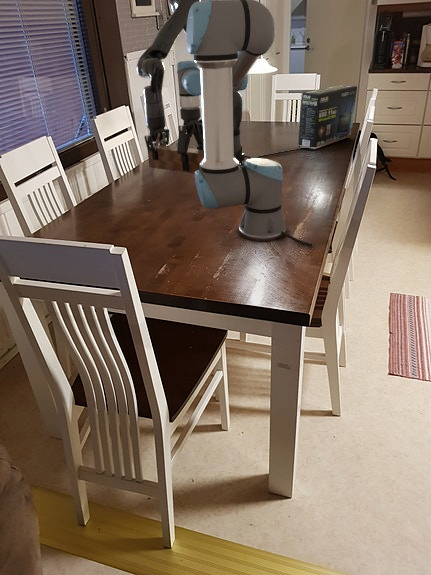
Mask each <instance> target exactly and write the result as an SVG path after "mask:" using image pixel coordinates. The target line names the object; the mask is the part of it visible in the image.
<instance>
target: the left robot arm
mask: <svg viewBox="0 0 431 575" xmlns="http://www.w3.org/2000/svg"><path fill="white" fill-rule="evenodd" d="M200 1H202V0H169V6H170V9H171V10H172V14H171V15H170V17H169V18H168V19H167V20H166V21H165V22H164V23H163V25H162V26H161V27H160V28H159V30H158V31H157V33H156V34H155V36H154V38H153V40H152V43H151V45H150V46H149V47H147V49H146V50H145V51H144V52H143V53H142V54H141V56H140V57H139V58H138V60H137V63H136V71H137V75H138V76H139V77H141V78H142V79H150V82H149V84H148V85H145V86H144V88H143V100H144V113H145V124H146V128H147V129H148V130H149V131H148V134H147V135H144V136H143V139H144V142H145V145H146V149H148V150H151V151H152V158H153V160H158V153H157V146H158V145H163V146H169V145H170V129H169V128H165V127H166V126H167V122H166V113H165V110H166V109H165V105H164V96H163V95H164V94H163V87H164V81H165V74H166V70H165V64H164V62H163V60H165V59H167V58H168V56H169V55H170V53H171V50H172V49H173V46H174V45H175V44H176V40H177V39H178V37H179V36H180V35H181V33H182V31H183V32H184V34H185V35H186V30H187V20H188V14H189V10H190V8H191V6H192V5H193V4H194V3H195V2H200ZM242 120H243V97H242V94H241V93H240V92H239V91H237V92H234V91H233V145H234V157H235V158H236V159H237V160H238V161H239V166H243V162H245V160H246V159H245V158H247V159H250V158H252V157H251V156H250V155H245V153H243V144H242V143H241V123H242ZM153 145H155V147H154V146H153ZM150 146H151V147H150ZM299 148H300V147H299ZM295 149H296V148H295ZM289 150H290V151H286V150H283V151H284V152H281V151H277V152H278V153H276V152H272V153H273V154H270V153H267V154H268V155H265V154H262V155H263V156H261V155H258V156H257V157H255V158H264V157H270V156H274V155H280V154H286V153H290V152H291V153H292V152H296V151H301V150H302V149H301V148H300V149H296V150H292V151H291V149H289Z"/></svg>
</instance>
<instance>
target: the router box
mask: <svg viewBox="0 0 431 575" xmlns="http://www.w3.org/2000/svg"><path fill="white" fill-rule="evenodd" d="M357 93H358V86H356V85H350V84H339V85H338V84H337V85H334V86H328V87H324V88H318V89H314V90H309V91H304V92H301V93H300V109H299V110H300V111H299V124H298V137H297V146H298V145H302V146H307V147H317V146H320V145H323V144H325V143H328V142H331V141H333V140H336V139H338V138H341V137H344V136H347V135H351V136H352V133H353V132H352V131H353V125H354V115H355V109H356V99H357ZM311 151H313V150H312V149H311Z"/></svg>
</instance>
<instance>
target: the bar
mask: <svg viewBox="0 0 431 575" xmlns="http://www.w3.org/2000/svg"><path fill="white" fill-rule="evenodd" d="M149 146H150V145H149ZM153 146H154V147H155V145H153ZM150 147H151V146H150ZM146 149H147V148H146ZM146 151H147V158H148V166H149V167H148V168H153V169H159V170H167V171H172V172H173V171H174V172H179V173H181V172H182V173H187V174H193V175H195V171H197V170H200V162H201V161H202V160H203V159H204V157H205V156H204V150H198V149H189V148H188V151H187V154H188V155H189V171H183V169H182V160H181V154H179V153H177V147H175V146H170V145H166V146H163V145H160V144H159V145H158V146H157V153H158V160H153V158H152V151H151V150H148V149H147V150H146ZM184 151H185V150H184Z"/></svg>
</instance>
